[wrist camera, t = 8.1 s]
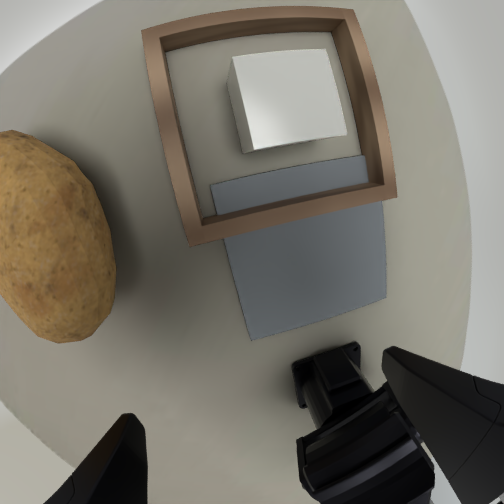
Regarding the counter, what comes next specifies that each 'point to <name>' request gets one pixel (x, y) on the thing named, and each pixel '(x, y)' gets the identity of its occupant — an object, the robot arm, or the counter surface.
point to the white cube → (284, 98)
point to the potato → (52, 242)
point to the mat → (304, 249)
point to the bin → (361, 95)
